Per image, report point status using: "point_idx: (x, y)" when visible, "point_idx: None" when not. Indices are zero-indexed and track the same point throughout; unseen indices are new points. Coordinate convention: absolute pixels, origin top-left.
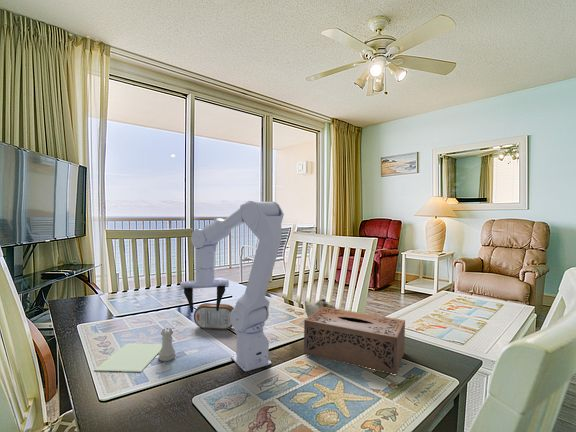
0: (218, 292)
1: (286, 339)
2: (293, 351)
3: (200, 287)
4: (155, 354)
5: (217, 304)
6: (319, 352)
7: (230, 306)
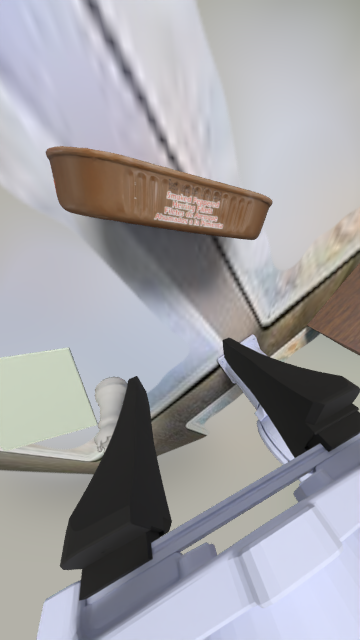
0: (289, 440)
1: (308, 281)
2: (298, 323)
3: (217, 514)
4: (80, 388)
5: (243, 378)
6: (323, 334)
7: (265, 205)
